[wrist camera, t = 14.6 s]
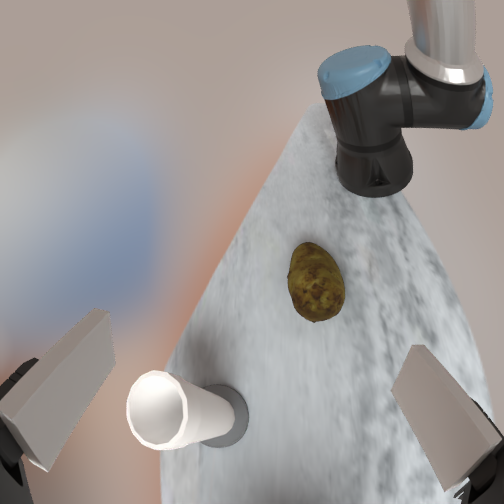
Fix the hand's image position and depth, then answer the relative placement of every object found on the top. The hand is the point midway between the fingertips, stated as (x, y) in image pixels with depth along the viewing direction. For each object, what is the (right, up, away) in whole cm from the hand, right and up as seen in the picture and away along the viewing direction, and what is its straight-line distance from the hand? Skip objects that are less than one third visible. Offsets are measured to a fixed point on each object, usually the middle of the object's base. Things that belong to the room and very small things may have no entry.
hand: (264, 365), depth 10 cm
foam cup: (-6, -19, +25) cm, 32 cm away
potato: (+10, -1, +30) cm, 31 cm away
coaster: (-6, -20, +25) cm, 32 cm away
